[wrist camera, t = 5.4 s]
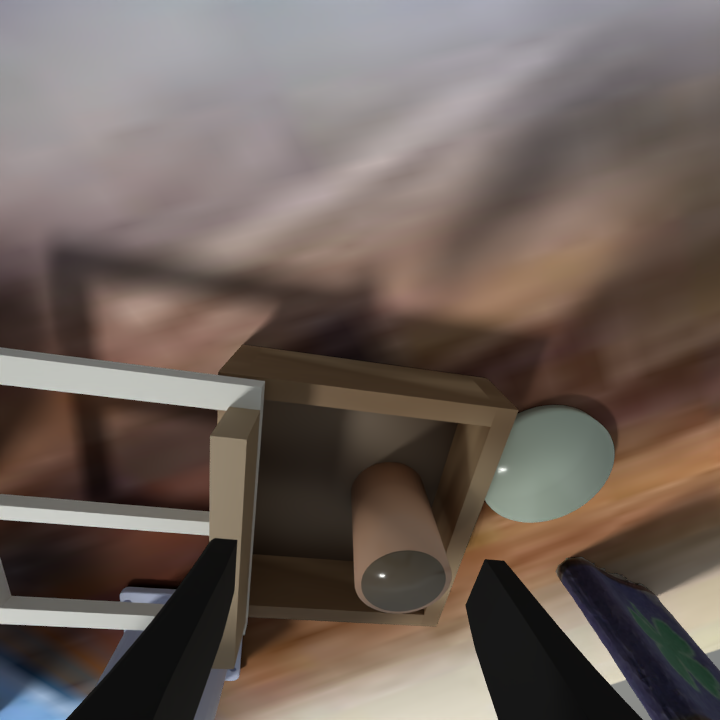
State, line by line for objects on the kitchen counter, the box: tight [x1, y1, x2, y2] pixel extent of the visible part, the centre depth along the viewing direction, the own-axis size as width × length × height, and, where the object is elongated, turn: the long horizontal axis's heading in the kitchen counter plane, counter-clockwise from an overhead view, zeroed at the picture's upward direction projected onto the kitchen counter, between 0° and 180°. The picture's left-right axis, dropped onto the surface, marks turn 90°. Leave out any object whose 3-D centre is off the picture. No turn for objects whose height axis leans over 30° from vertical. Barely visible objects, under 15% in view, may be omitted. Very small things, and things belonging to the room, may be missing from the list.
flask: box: [556, 557, 720, 720], centre depth 20 cm, size 9×3×11 cm, turn 59°
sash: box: [0, 347, 265, 669], centre depth 14 cm, size 15×13×3 cm
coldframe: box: [217, 345, 519, 627], centre depth 18 cm, size 15×13×4 cm
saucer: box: [485, 405, 614, 522], centre depth 20 cm, size 8×8×1 cm
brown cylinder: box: [351, 462, 452, 614], centre depth 17 cm, size 4×4×6 cm
